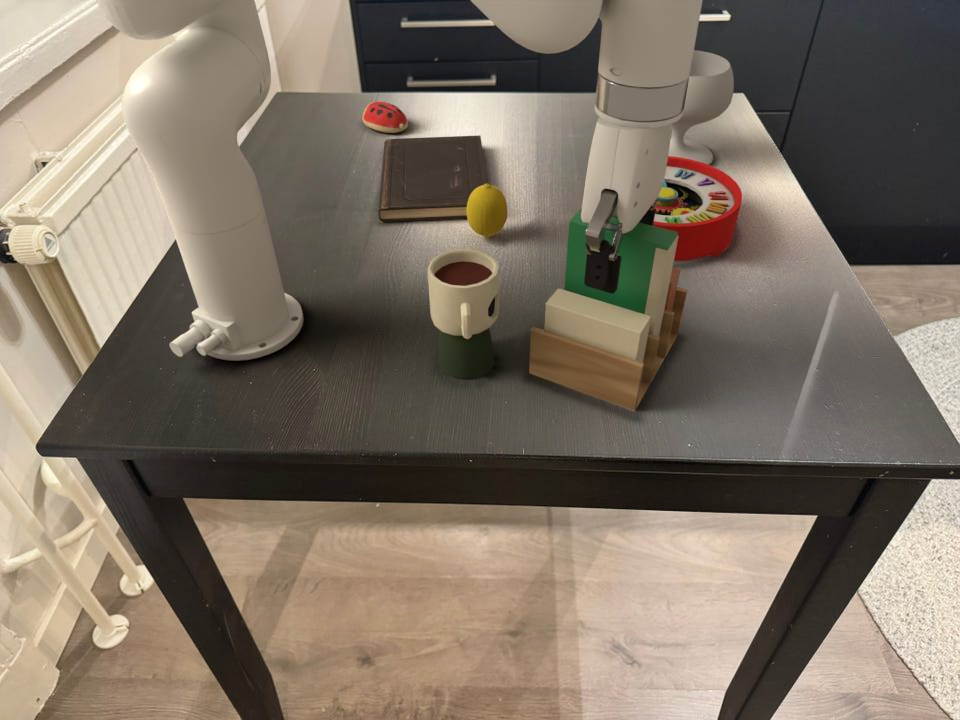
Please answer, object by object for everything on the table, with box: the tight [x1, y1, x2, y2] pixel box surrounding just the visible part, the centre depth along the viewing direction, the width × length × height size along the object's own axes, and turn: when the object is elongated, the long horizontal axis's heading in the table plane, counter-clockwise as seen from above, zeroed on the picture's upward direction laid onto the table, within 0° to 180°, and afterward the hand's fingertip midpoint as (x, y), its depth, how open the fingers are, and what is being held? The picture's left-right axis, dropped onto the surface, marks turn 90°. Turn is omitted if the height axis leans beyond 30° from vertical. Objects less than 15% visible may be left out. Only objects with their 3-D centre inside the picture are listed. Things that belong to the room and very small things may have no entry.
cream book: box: [543, 287, 651, 363], centre depth 75 cm, size 3×10×9 cm, turn 60°
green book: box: [563, 207, 678, 336], centre depth 75 cm, size 3×10×16 cm, turn 61°
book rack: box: [528, 286, 689, 412], centre depth 79 cm, size 14×12×7 cm
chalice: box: [668, 49, 735, 165], centre depth 113 cm, size 14×14×15 cm
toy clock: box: [650, 156, 743, 262], centre depth 100 cm, size 20×6×20 cm
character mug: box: [427, 248, 500, 380], centre depth 76 cm, size 11×7×13 cm, turn 4°
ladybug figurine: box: [361, 101, 409, 134], centre depth 128 cm, size 7×10×4 cm
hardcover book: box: [377, 134, 489, 223], centre depth 112 cm, size 16×23×2 cm
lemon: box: [466, 183, 508, 238], centre depth 98 cm, size 6×6×8 cm
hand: (618, 264), depth 73 cm, fingers open, 8 cm apart
